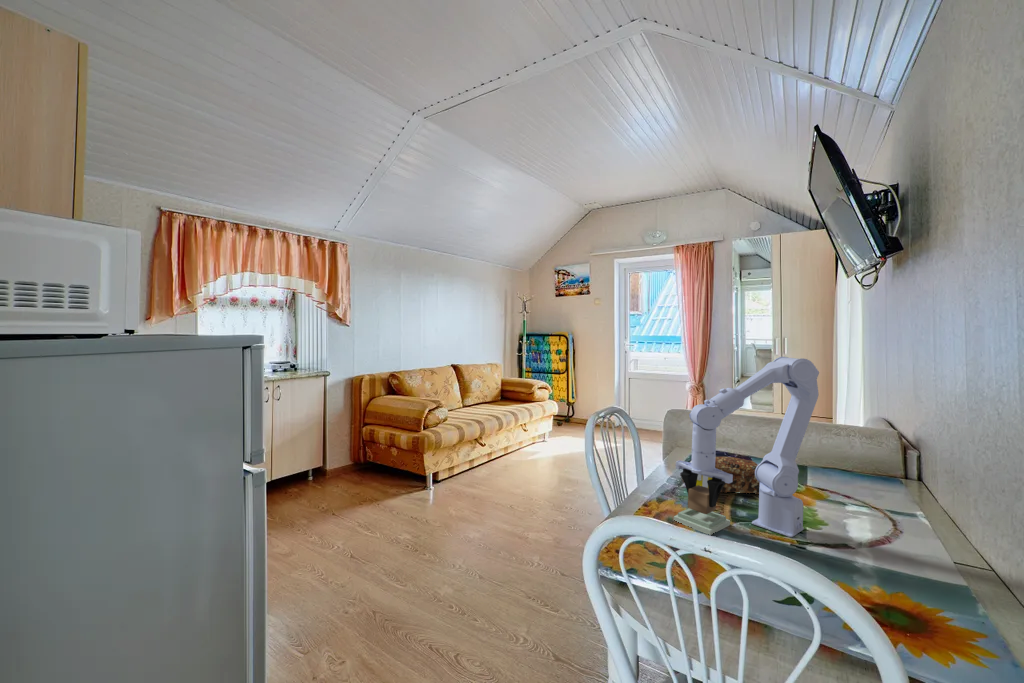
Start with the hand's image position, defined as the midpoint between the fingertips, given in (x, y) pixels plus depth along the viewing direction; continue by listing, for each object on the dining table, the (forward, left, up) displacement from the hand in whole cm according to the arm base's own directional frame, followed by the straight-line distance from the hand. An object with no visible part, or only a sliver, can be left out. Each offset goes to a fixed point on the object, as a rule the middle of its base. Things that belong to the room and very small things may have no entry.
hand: (702, 502), depth 114 cm
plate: (0, 0, -5) cm, 5 cm away
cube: (0, 0, -2) cm, 2 cm away
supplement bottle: (+11, -19, -6) cm, 23 cm away
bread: (+9, -32, -6) cm, 34 cm away
